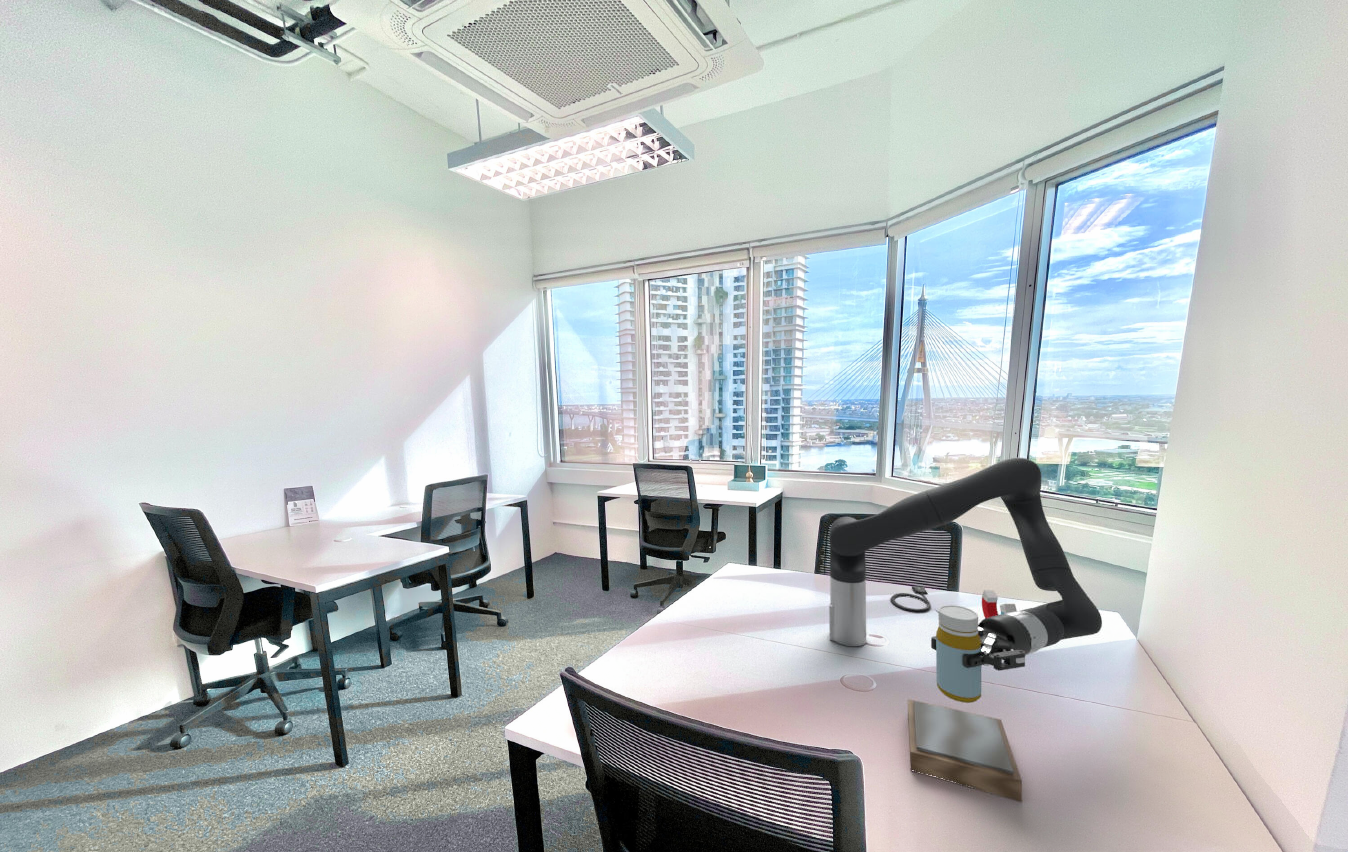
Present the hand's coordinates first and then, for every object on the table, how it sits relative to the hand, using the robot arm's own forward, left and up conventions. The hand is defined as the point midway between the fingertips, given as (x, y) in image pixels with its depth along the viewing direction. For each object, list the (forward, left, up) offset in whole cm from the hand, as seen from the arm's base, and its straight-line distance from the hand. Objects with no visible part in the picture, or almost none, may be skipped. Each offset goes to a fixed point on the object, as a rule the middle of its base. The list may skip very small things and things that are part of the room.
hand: (948, 652), depth 84 cm
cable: (-3, +70, -20) cm, 73 cm away
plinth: (+2, +2, -19) cm, 20 cm away
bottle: (+2, +2, -8) cm, 9 cm away
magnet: (+18, +59, -20) cm, 64 cm away
